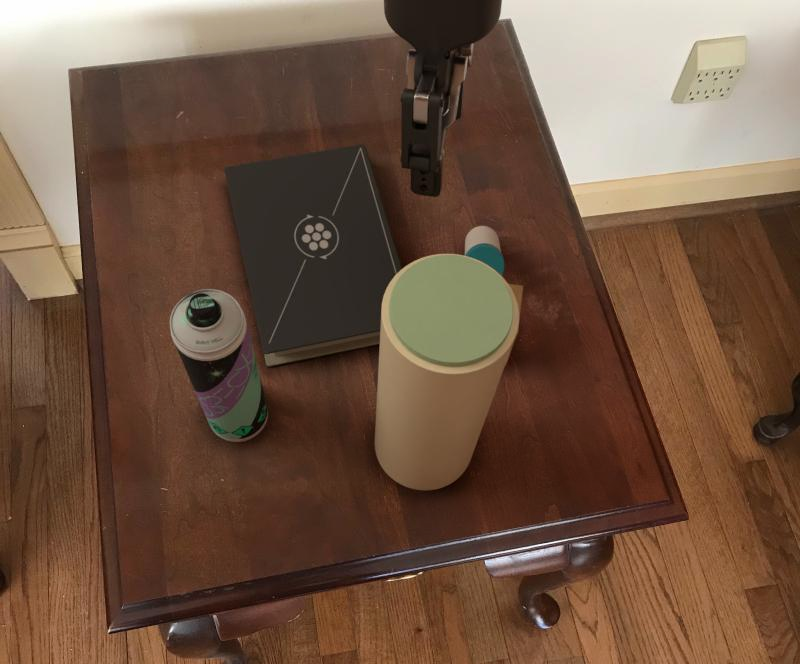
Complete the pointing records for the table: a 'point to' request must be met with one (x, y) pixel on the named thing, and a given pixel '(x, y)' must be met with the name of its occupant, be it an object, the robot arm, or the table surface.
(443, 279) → the pad
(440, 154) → the robot arm
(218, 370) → the spray can
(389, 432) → the pedestal
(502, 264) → the vial
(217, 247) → the table surface
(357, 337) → the book
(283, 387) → the table surface
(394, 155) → the table surface
